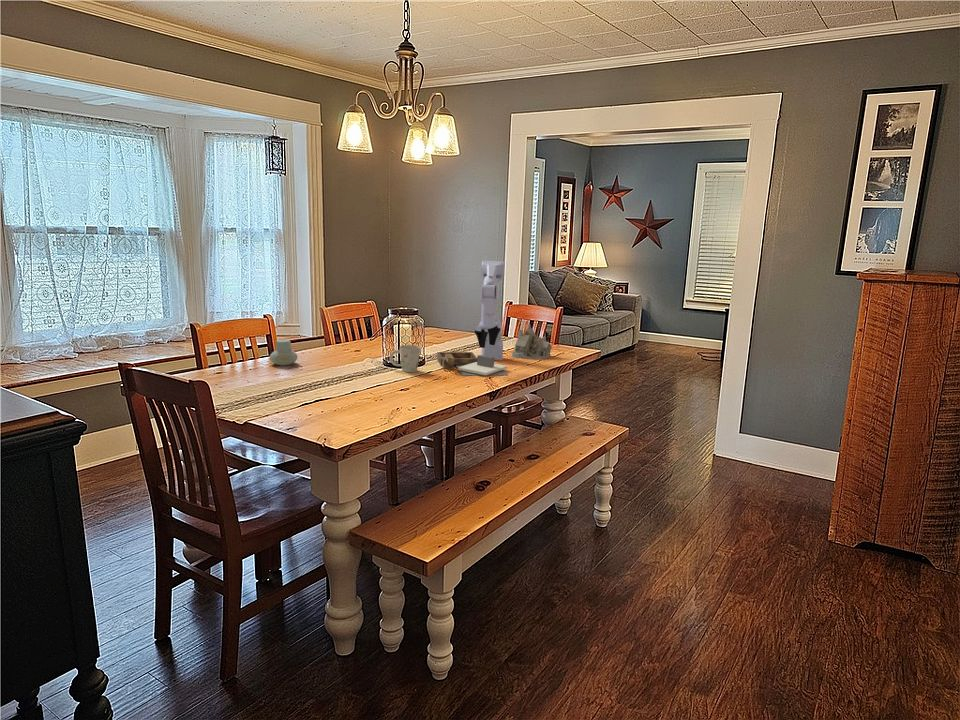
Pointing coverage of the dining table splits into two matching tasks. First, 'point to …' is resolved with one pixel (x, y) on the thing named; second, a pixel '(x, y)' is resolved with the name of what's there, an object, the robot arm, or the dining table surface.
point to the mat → (479, 374)
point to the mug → (407, 357)
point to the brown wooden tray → (456, 359)
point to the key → (449, 358)
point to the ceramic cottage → (531, 346)
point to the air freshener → (283, 353)
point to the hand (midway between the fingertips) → (487, 346)
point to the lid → (483, 366)
